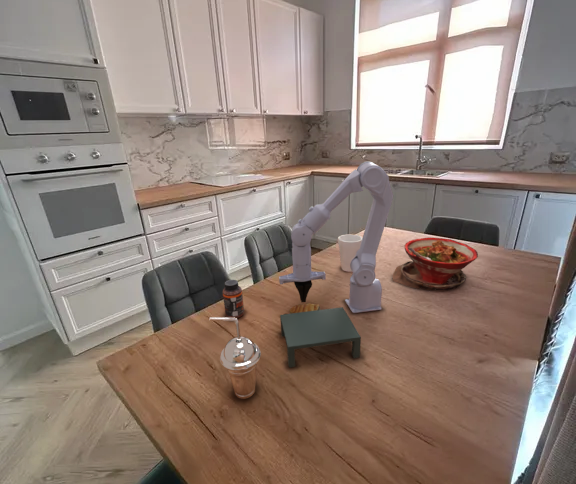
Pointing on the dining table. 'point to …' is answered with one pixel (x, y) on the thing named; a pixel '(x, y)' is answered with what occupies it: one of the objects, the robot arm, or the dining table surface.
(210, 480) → the dining table surface
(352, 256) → the foam cup
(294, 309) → the pastry
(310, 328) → the bench
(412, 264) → the stew
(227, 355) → the cup with straw
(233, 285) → the supplement bottle
